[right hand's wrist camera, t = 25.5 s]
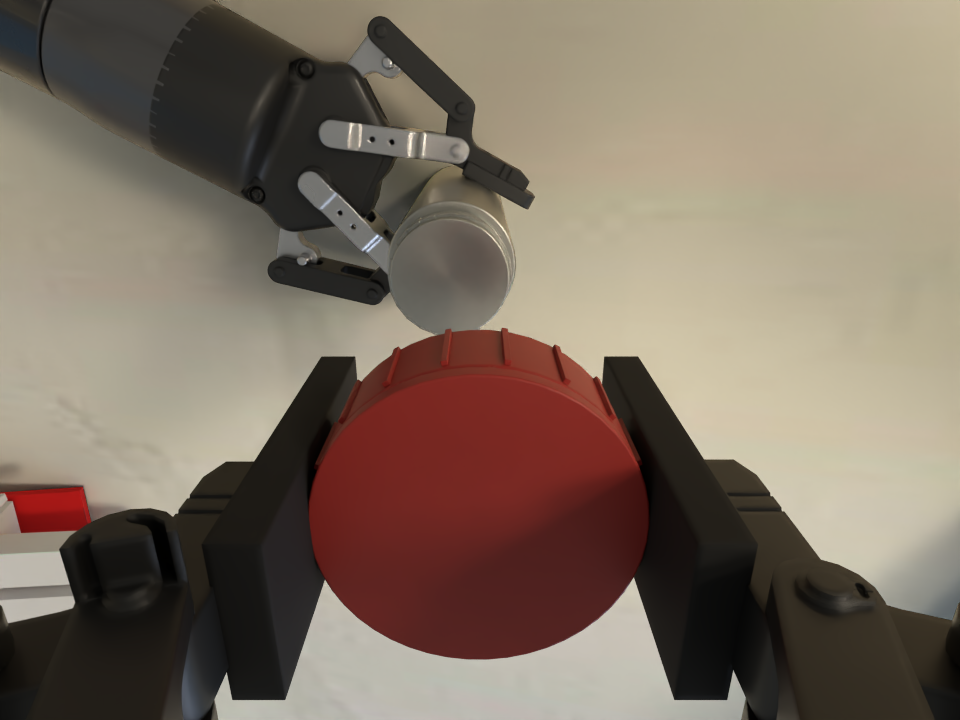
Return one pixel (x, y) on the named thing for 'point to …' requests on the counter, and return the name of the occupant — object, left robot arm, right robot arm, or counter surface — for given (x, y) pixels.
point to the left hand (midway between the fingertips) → (502, 248)
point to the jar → (452, 255)
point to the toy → (37, 549)
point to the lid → (478, 497)
